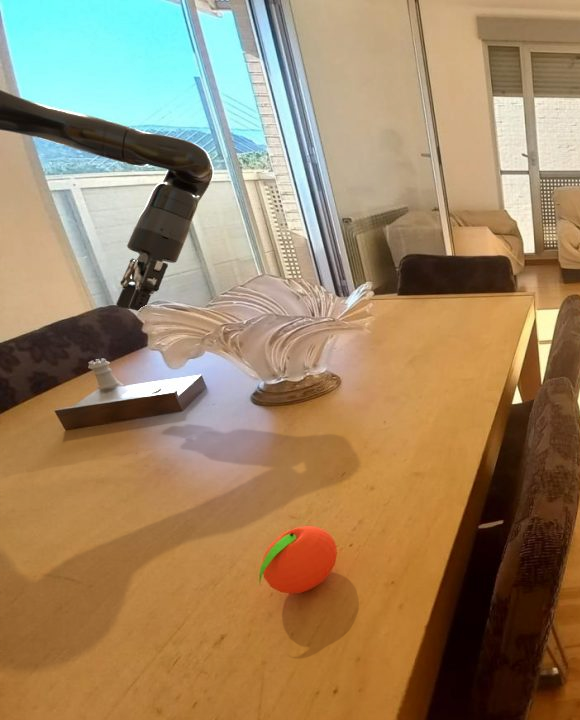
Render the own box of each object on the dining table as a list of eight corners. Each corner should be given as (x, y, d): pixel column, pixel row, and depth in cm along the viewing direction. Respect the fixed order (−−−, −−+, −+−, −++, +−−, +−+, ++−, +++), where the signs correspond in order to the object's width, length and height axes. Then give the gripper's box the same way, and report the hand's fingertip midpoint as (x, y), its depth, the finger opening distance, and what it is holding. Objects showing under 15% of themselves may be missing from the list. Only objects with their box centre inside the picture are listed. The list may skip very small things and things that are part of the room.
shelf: (65, 430, 89) (53, 410, 87) (103, 402, 99) (93, 384, 97) (182, 411, 94) (174, 392, 93) (206, 386, 105) (199, 369, 103)
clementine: (299, 623, 49) (277, 572, 46) (248, 609, 51) (225, 559, 48) (357, 564, 56) (341, 517, 53) (311, 553, 58) (294, 507, 55)
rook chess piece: (94, 398, 101) (75, 364, 98) (118, 389, 105) (102, 356, 102) (109, 400, 100) (91, 365, 97) (133, 390, 104) (117, 357, 101)
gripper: (125, 227, 98) (93, 300, 95) (147, 224, 90) (113, 304, 88) (171, 243, 104) (143, 313, 101) (195, 242, 97) (165, 317, 94)
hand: (129, 309), depth 95 cm, fingers open, 8 cm apart
